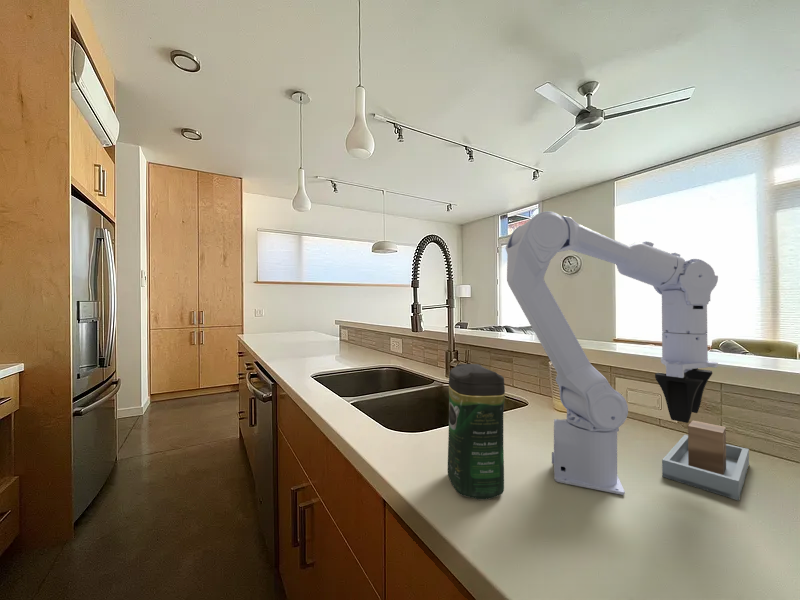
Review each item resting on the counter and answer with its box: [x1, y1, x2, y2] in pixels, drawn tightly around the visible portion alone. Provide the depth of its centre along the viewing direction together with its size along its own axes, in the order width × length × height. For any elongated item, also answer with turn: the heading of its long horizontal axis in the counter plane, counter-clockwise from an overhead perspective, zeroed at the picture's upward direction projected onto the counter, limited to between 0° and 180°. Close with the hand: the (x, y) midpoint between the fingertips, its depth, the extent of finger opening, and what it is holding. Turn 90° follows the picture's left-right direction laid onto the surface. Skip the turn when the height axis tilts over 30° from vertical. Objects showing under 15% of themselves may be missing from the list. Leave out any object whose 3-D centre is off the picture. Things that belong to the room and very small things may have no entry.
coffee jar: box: [447, 363, 506, 501], centre depth 53 cm, size 10×8×19 cm
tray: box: [661, 434, 750, 501], centre depth 58 cm, size 18×9×3 cm, turn 131°
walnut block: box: [687, 420, 727, 475], centre depth 58 cm, size 4×4×7 cm
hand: (684, 416), depth 55 cm, fingers open, 7 cm apart
